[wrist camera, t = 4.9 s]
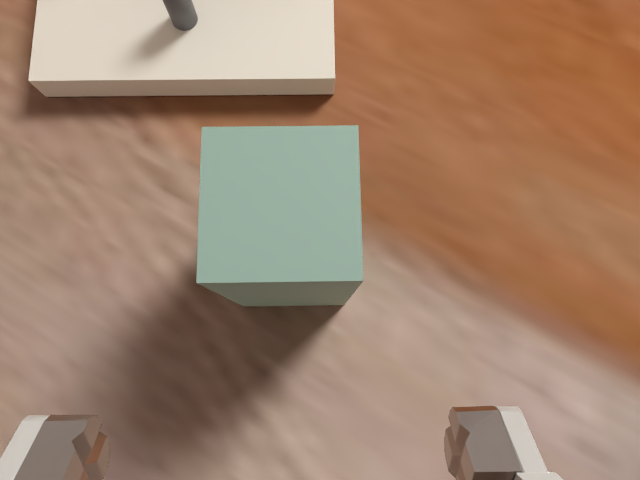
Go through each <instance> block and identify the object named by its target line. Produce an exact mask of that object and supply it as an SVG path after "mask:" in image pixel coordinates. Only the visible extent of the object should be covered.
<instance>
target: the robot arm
mask: <svg viewBox="0 0 640 480" xmlns="http://www.w3.org/2000/svg"><path fill="white" fill-rule="evenodd" d="M448 418H449V421H450V425H451V426H450V427H448V428H447V429H446V431H445V437H444V451H445V458H446V463H447V467H448V471H449V472H450V473H451V474H452V475H453V476H454V477H455V478H456V480H564V479H562V478H561V477H560V476H559V475H558V474H557V473H555V472H548V470H547V468H546V466H545V463H544V461H543V459H542V457H541V454H540V452H539V450H538V447H537V445H536V443H535V441H534V438H533V436H532V434H531V431H530V429H529V427H528V425H527V422H526V420H525V418H524V415H523V413H522V411H521V409H520V408H519V407H518V406H498V407H494V406H477V407H452V409H451V410H450V413H449V417H448ZM101 425H102V423H101V421H100V419H99V417H98V415H28V416H27V417H26V418H25V419H24V420H23V421H22V422H21V423H20V425H19V426H18V428H17V430H16V432H15V433H14V435H13V437H12V439H11V440H10V442H9V444H8V446H7V447H6V449H5V451H4V453H3V454H2V456H1V458H0V480H103V479H104V476H105V473H106V471H107V468H108V463H109V456H110V447H109V441H108V439H107V436H105V435H104V434H102V433H101V432H99V430H100V428H101Z"/></svg>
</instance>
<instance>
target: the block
mask: <svg viewBox="0 0 640 480" xmlns="http://www.w3.org/2000/svg"><path fill="white" fill-rule="evenodd" d="M362 282H363V256H362V226H361V195H360V164H359V134H358V126H256V127H202V137H201V165H200V193H199V221H198V250H197V278H196V283H197V284H199V285H201V286H203V287H205V288H207V289H209V290H211V291H213V292H215V293H217V294H219V295H221V296H223V297H225V298H227V299H229V300H231V301H233V302H235V303H237V304H239V305H241V306H243V307H247V306H317V305H345V303H346V302H347V301H348V299H349V298H350V297H351V296H352V294H353V293H354V292H355V291H356V289H357V288H358V287H359V286H360V284H361V283H362Z"/></svg>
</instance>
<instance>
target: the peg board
mask: <svg viewBox="0 0 640 480" xmlns="http://www.w3.org/2000/svg"><path fill="white" fill-rule="evenodd" d="M28 81H29V82H30V83H31V84H32V85H33V86H34V87H36V88H37V89H38V90H39V91H40V92H41V93H42V94H43V95H44V96H45V97H82V96H198V95H314V94H334V87H335V50H334V6H333V0H37V9H36V17H35V26H34V35H33V44H32V52H31V61H30V70H29V79H28Z"/></svg>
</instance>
